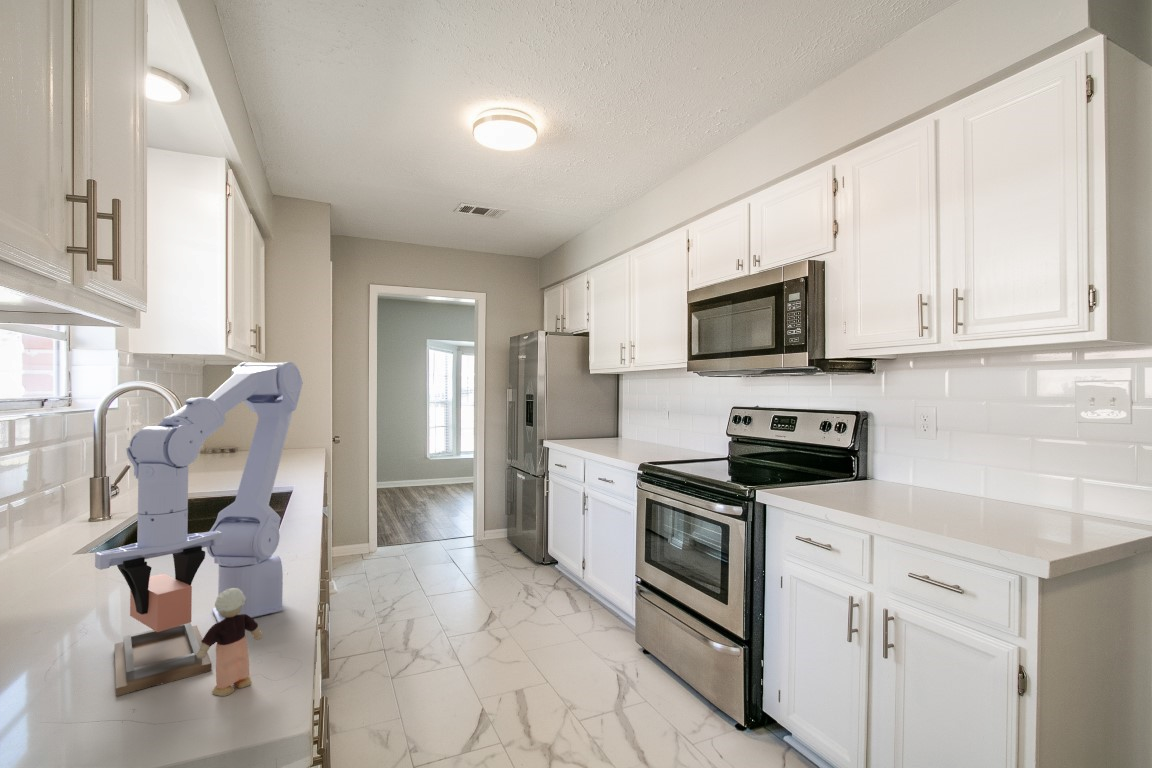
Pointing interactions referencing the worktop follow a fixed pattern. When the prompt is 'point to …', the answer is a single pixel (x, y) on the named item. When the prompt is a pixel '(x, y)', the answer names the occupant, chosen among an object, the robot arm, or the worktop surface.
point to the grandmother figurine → (230, 642)
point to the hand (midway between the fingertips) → (161, 607)
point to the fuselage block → (165, 603)
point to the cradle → (158, 658)
